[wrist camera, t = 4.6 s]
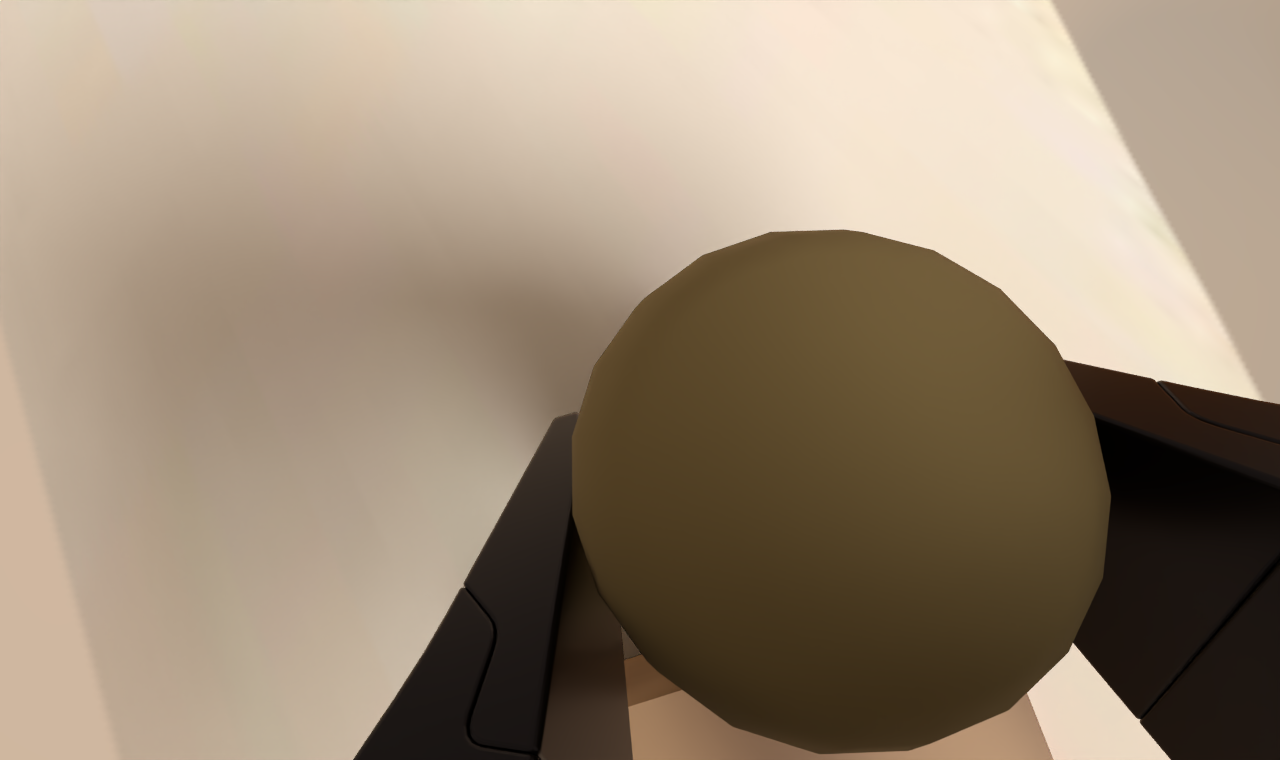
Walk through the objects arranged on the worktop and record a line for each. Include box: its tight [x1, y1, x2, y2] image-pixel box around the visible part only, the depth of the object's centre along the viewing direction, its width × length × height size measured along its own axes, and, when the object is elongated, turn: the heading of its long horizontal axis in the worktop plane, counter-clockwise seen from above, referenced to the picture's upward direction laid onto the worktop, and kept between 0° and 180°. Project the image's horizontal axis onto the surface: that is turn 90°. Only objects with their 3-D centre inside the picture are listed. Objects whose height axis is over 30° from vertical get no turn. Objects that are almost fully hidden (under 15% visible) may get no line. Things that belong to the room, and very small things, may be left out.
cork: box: [572, 230, 1111, 754], centre depth 9 cm, size 6×6×11 cm
